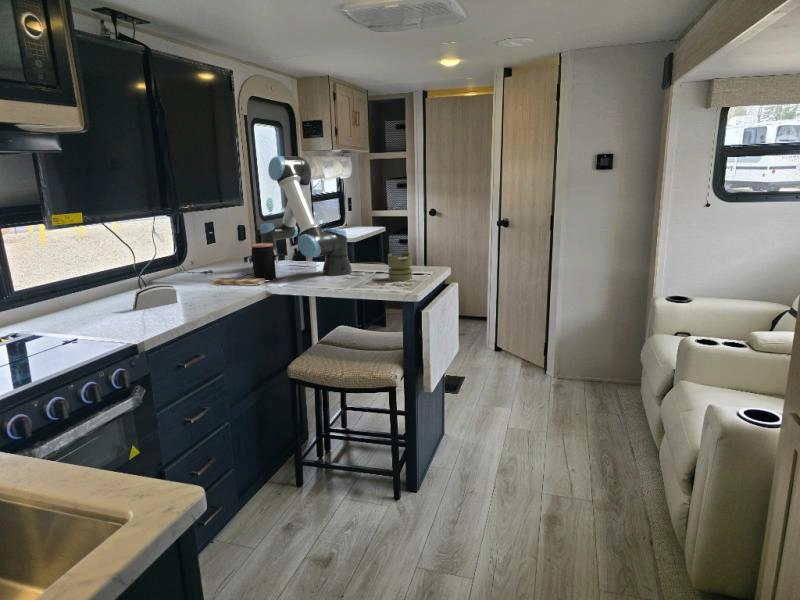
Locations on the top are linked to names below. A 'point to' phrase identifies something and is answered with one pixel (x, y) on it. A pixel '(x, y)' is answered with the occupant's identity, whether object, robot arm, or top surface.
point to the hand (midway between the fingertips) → (262, 261)
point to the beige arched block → (155, 297)
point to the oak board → (238, 281)
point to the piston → (400, 267)
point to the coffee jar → (263, 261)
